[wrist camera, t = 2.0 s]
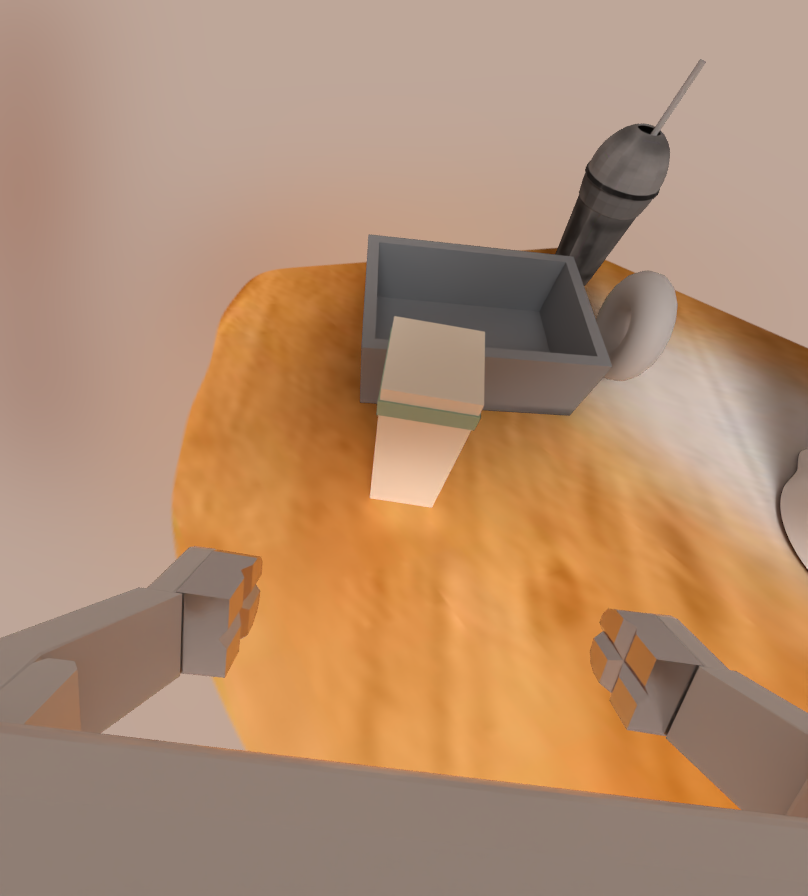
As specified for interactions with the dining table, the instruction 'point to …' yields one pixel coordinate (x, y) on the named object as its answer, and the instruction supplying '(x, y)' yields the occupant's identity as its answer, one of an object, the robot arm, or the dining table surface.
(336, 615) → the dining table surface
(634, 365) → the donut
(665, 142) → the beverage cup
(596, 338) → the box
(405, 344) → the juice carton
